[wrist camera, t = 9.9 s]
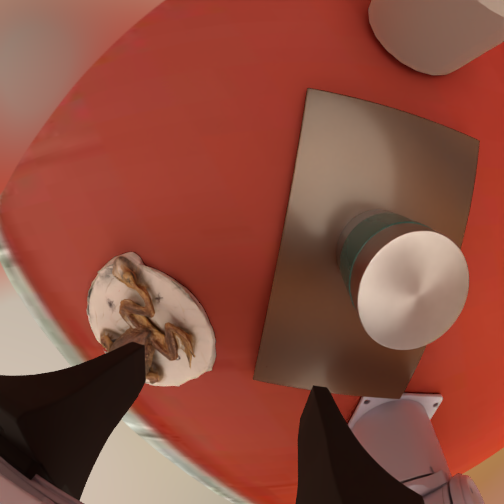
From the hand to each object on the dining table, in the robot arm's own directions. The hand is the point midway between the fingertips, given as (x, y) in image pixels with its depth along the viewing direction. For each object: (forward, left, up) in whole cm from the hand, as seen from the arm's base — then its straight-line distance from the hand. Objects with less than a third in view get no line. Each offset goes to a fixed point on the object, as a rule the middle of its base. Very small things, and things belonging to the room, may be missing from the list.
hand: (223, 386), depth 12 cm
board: (+4, -7, -9) cm, 12 cm away
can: (+21, -8, -10) cm, 24 cm away
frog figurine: (-5, +8, -10) cm, 13 cm away
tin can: (+5, -7, -8) cm, 12 cm away
